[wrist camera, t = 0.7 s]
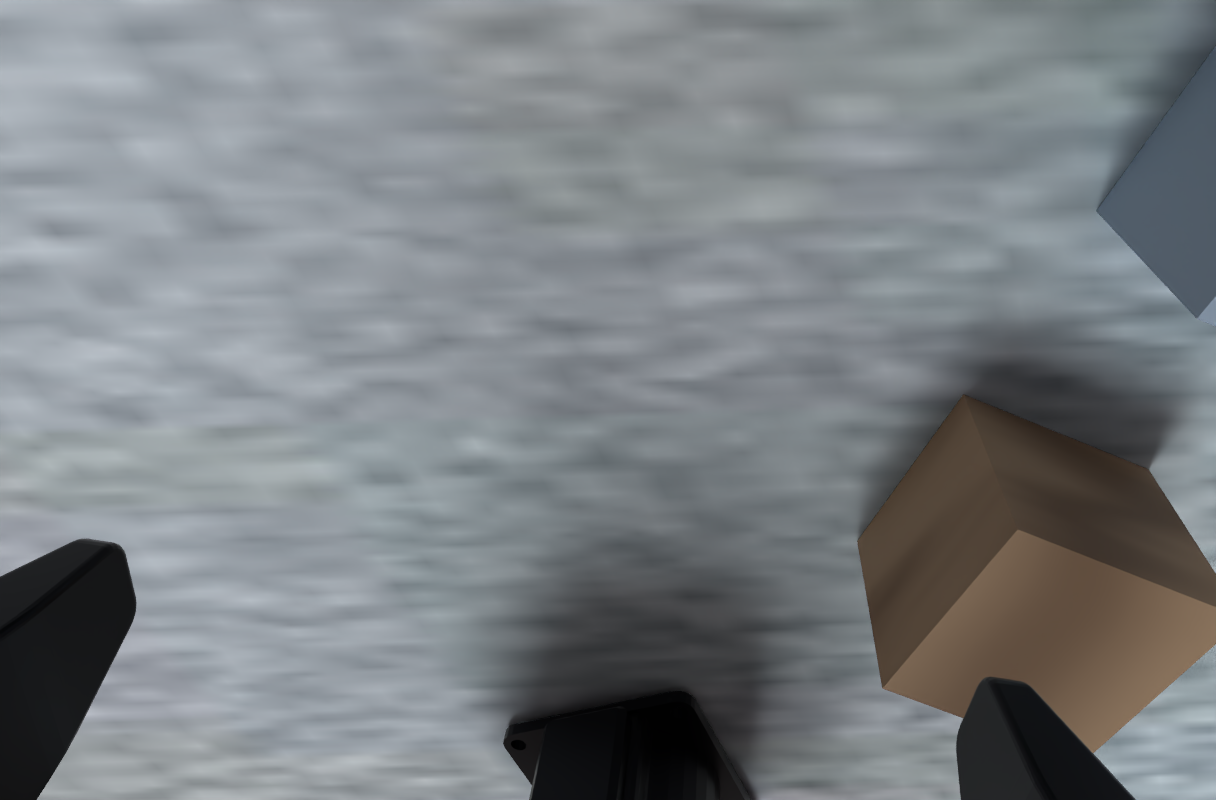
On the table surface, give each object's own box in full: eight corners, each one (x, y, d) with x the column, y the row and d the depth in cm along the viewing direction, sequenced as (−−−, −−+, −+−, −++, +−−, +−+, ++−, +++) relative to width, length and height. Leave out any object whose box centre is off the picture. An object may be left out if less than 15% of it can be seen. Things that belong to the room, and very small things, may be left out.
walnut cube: (1147, 467, 22) (1244, 618, 18) (1023, 602, 25) (1083, 762, 21) (962, 392, 22) (1018, 529, 17) (856, 539, 24) (882, 687, 20)
